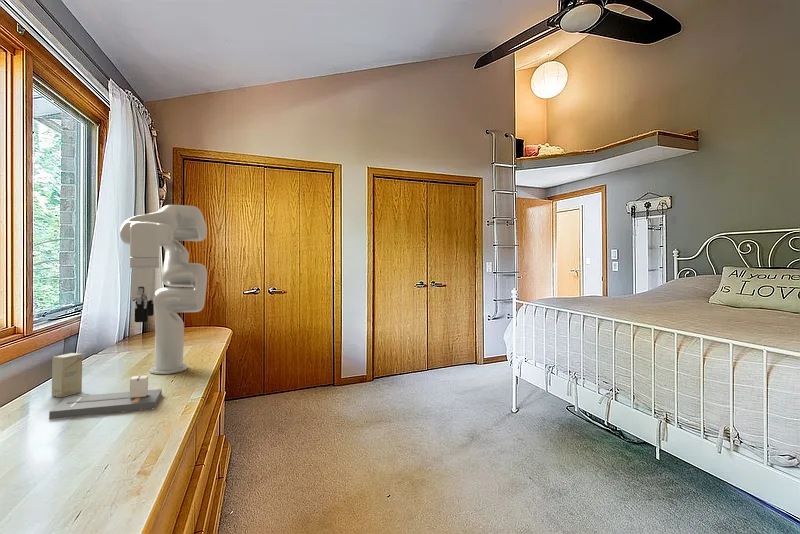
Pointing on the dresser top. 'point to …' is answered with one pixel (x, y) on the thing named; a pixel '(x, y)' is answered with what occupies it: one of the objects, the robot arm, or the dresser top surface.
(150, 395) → the fader board
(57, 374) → the skincare box
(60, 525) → the dresser top surface
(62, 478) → the dresser top surface
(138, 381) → the fader tab
